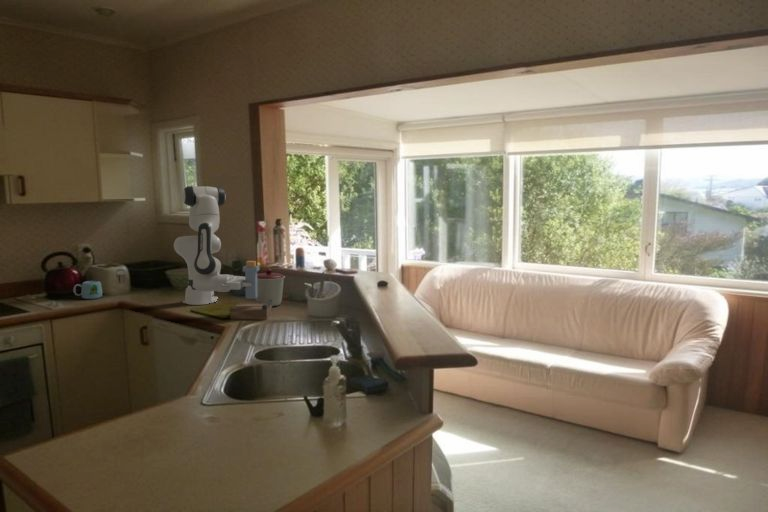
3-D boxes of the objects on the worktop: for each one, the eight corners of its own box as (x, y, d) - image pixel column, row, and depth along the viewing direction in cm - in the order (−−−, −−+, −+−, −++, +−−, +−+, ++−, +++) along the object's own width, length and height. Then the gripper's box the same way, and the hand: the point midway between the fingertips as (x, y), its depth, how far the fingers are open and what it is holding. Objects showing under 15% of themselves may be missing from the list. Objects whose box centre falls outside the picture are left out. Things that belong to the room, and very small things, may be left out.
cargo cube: (248, 268, 260) (248, 260, 259) (256, 268, 260) (255, 260, 259) (246, 269, 256) (246, 261, 255) (254, 269, 256) (254, 261, 255)
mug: (75, 301, 291) (74, 284, 290) (72, 298, 299) (71, 282, 298) (104, 298, 301) (103, 282, 300) (100, 295, 309) (99, 279, 308)
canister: (277, 309, 277) (277, 271, 274) (247, 307, 280) (246, 270, 278) (290, 302, 294) (289, 267, 292) (261, 301, 298) (260, 266, 296)
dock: (238, 312, 268) (237, 299, 267) (272, 312, 269) (272, 299, 268) (230, 319, 252) (230, 305, 251) (266, 319, 253) (266, 305, 252)
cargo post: (246, 296, 262) (245, 265, 261) (259, 296, 263) (259, 265, 261) (243, 298, 255) (242, 267, 254) (257, 298, 256) (256, 267, 254)
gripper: (220, 279, 247) (248, 280, 248) (230, 274, 267) (257, 274, 268) (220, 292, 248) (248, 292, 248) (231, 286, 268) (257, 286, 269)
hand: (253, 283), depth 258 cm, fingers closed on cargo post, 5 cm apart
